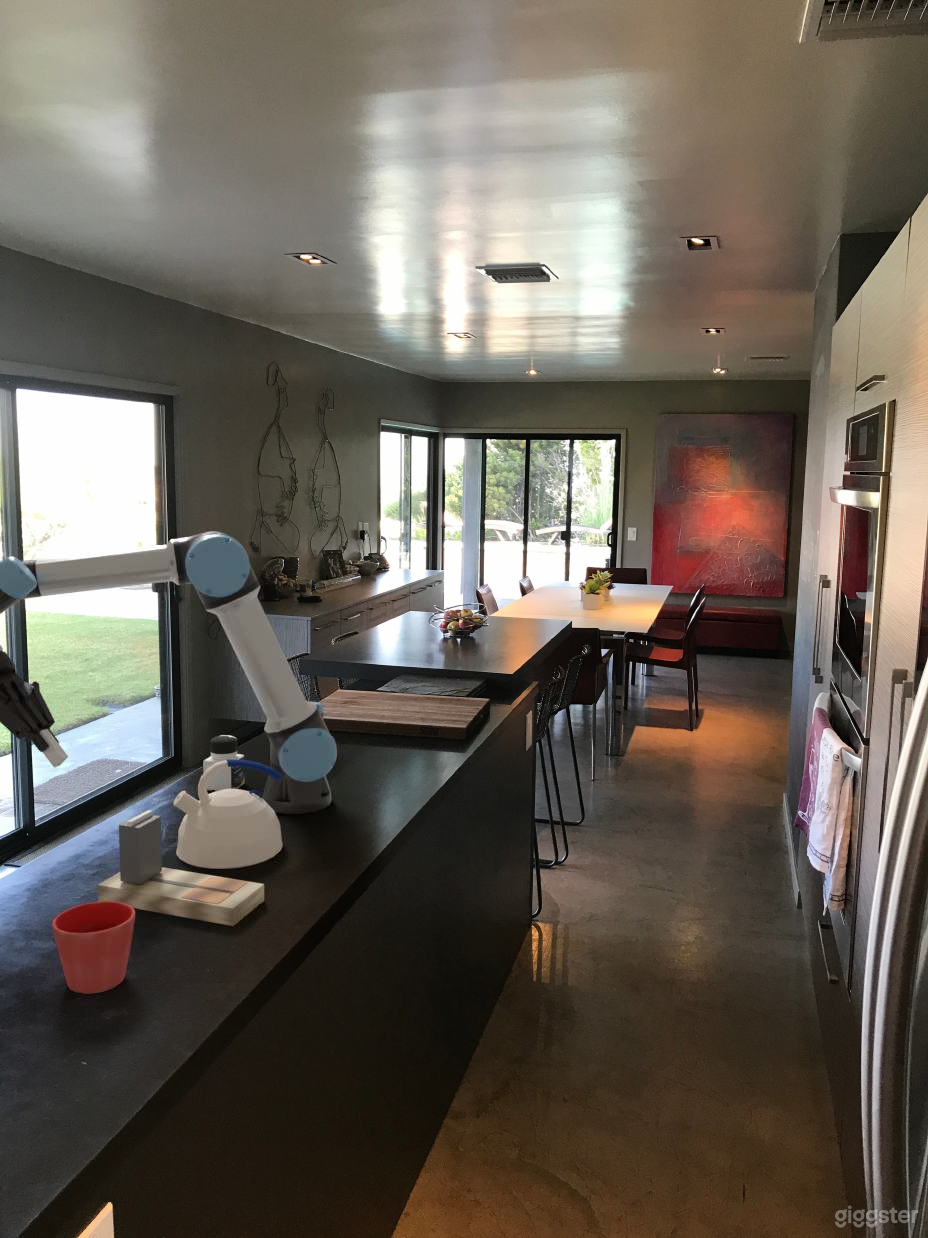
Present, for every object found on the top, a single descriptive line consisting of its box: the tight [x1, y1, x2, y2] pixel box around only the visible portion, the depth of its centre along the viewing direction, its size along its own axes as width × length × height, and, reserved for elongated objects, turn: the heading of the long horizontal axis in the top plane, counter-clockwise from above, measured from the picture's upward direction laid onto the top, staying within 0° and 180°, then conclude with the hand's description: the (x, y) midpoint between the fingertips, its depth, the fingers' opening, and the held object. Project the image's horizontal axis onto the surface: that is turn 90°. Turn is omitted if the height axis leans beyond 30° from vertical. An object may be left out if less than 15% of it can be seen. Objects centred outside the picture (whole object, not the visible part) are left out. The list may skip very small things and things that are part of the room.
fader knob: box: [118, 809, 163, 885], centre depth 162 cm, size 4×6×11 cm, turn 163°
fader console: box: [97, 866, 265, 927], centre depth 160 cm, size 26×10×3 cm, turn 73°
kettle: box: [173, 759, 283, 870], centre depth 183 cm, size 20×21×18 cm
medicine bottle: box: [202, 734, 246, 792], centre depth 220 cm, size 7×7×12 cm
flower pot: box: [51, 901, 136, 995], centre depth 134 cm, size 11×11×10 cm
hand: (61, 762), depth 169 cm, fingers closed
